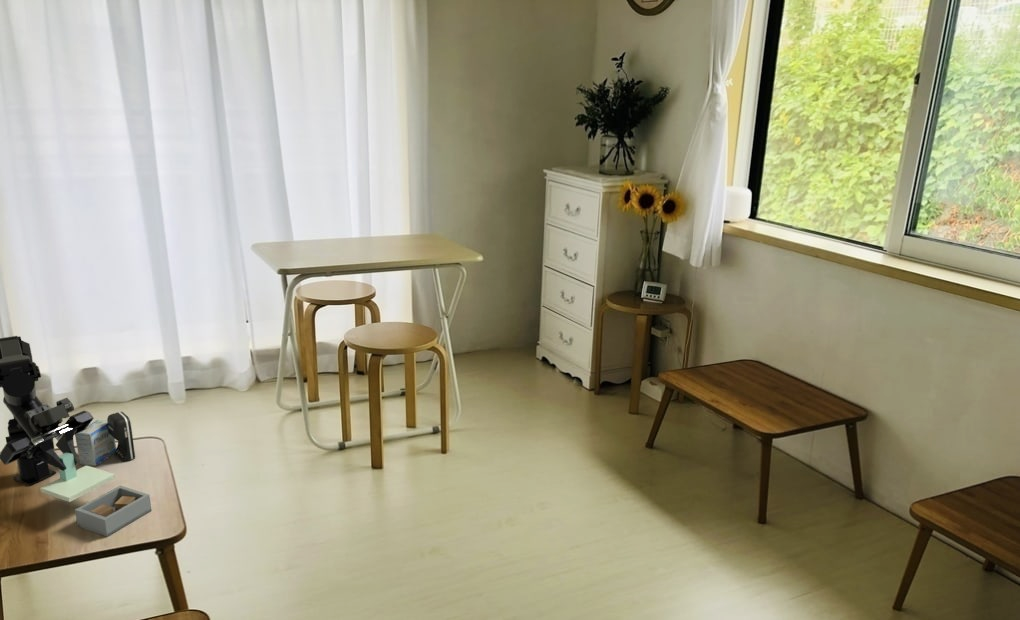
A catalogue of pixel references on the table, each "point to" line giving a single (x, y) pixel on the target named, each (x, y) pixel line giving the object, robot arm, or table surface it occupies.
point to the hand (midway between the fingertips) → (70, 466)
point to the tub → (117, 518)
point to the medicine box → (95, 443)
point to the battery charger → (122, 435)
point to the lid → (76, 480)
